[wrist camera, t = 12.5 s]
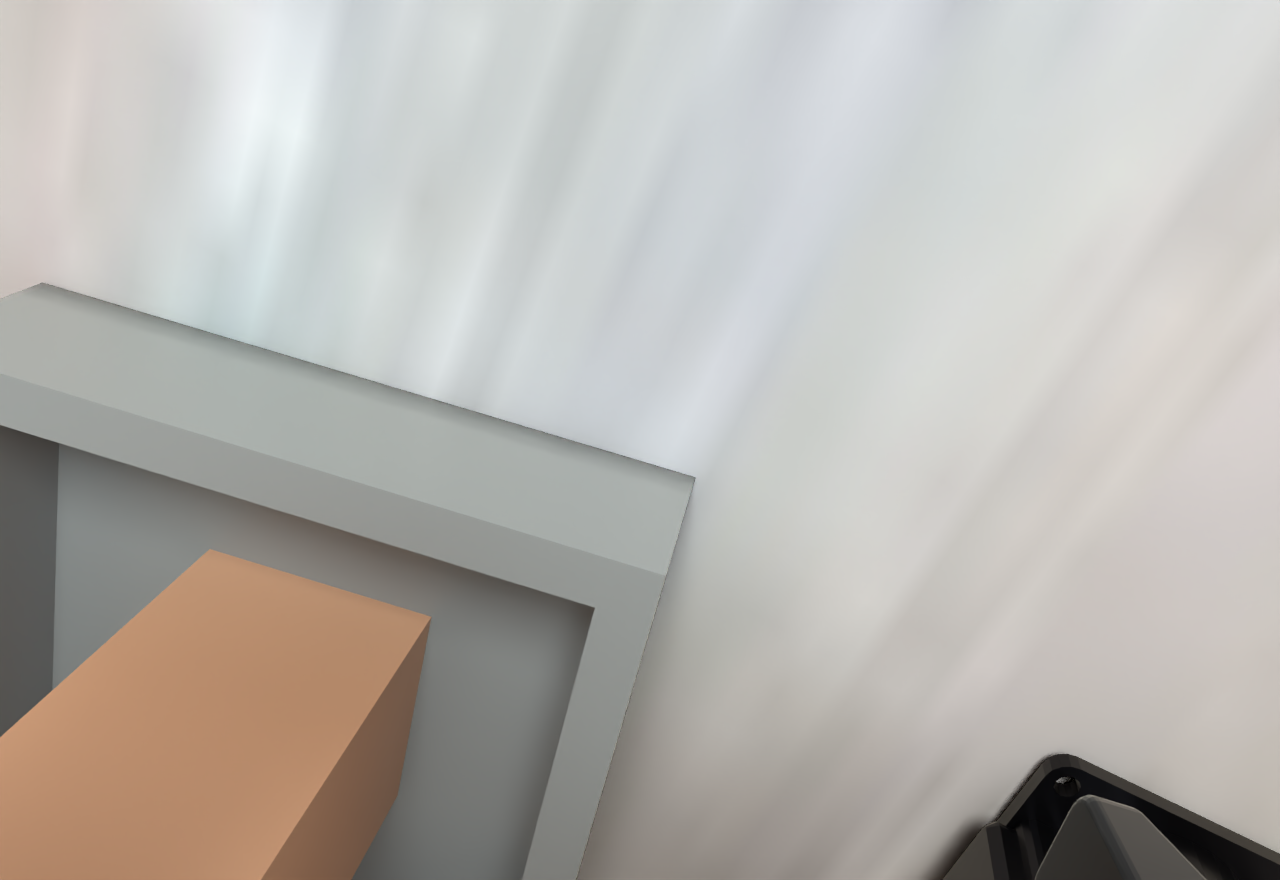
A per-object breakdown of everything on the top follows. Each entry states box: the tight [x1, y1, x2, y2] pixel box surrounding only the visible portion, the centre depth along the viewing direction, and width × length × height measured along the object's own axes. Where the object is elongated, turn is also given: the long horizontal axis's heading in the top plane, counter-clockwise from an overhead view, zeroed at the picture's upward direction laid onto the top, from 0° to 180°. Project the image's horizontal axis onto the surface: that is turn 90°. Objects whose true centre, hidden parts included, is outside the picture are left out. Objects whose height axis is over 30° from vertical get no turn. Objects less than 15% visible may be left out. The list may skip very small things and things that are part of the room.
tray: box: [0, 283, 695, 880], centre depth 24 cm, size 14×14×4 cm
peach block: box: [0, 549, 431, 880], centre depth 19 cm, size 5×5×12 cm
